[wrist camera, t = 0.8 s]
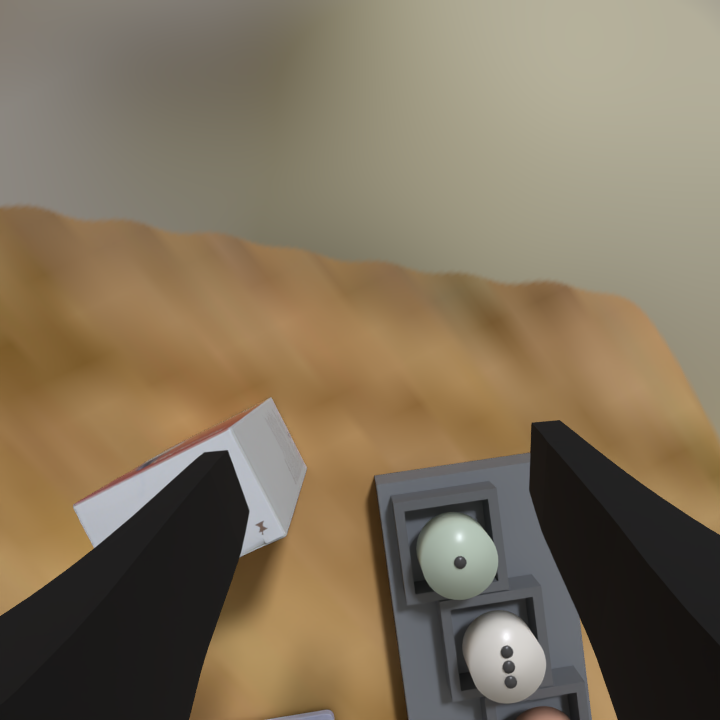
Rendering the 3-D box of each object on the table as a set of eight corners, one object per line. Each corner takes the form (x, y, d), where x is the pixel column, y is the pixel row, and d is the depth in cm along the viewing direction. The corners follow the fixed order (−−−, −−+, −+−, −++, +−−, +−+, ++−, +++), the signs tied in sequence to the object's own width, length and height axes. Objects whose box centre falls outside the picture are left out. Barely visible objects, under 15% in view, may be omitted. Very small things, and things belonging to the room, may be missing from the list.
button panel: (581, 740, 31) (610, 788, 28) (414, 769, 31) (423, 821, 27) (545, 450, 30) (571, 463, 27) (374, 475, 30) (378, 492, 27)
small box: (272, 395, 30) (233, 423, 19) (309, 469, 30) (291, 536, 19) (164, 448, 29) (65, 505, 19) (202, 521, 30) (125, 618, 19)
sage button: (492, 577, 27) (503, 594, 25) (421, 587, 27) (427, 606, 25) (483, 506, 27) (493, 519, 25) (411, 517, 27) (417, 530, 25)
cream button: (536, 673, 27) (551, 698, 25) (467, 685, 27) (476, 710, 25) (528, 604, 27) (542, 624, 25) (457, 616, 27) (466, 636, 25)
